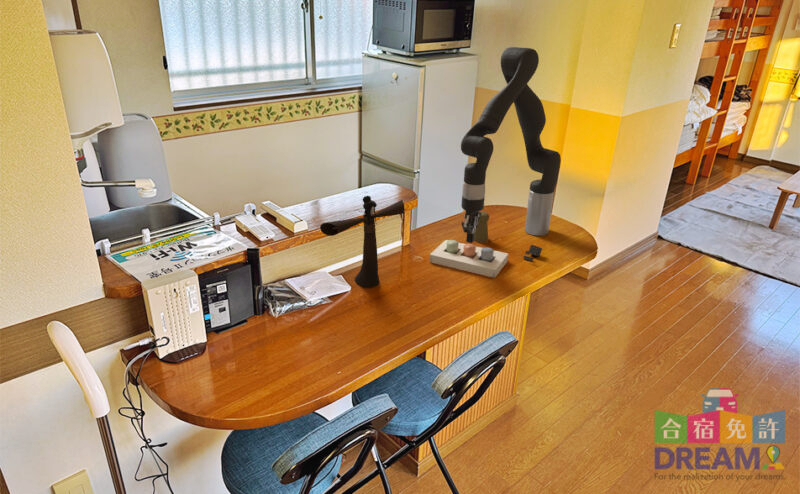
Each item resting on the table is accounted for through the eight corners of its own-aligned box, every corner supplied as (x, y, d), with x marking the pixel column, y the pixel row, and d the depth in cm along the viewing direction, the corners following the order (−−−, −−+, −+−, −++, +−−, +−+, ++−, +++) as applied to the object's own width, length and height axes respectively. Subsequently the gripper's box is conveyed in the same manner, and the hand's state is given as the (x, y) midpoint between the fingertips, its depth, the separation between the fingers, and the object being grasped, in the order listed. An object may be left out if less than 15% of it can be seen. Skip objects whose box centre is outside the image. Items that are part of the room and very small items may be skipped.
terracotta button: (465, 253, 195) (466, 242, 193) (476, 255, 193) (477, 245, 192) (461, 257, 192) (461, 247, 190) (472, 260, 190) (473, 249, 188)
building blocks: (542, 248, 198) (533, 245, 191) (537, 262, 198) (528, 260, 192) (534, 245, 199) (525, 242, 193) (529, 260, 200) (520, 257, 193)
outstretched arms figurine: (334, 303, 167) (330, 211, 154) (317, 290, 174) (312, 202, 161) (411, 272, 186) (413, 188, 173) (393, 262, 192) (394, 180, 179)
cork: (469, 237, 212) (471, 211, 207) (482, 234, 214) (484, 208, 209) (477, 243, 207) (480, 216, 202) (491, 240, 209) (493, 214, 205)
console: (445, 247, 204) (445, 239, 203) (507, 261, 194) (508, 253, 193) (429, 262, 193) (429, 254, 191) (494, 277, 183) (495, 269, 181)
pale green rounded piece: (448, 249, 198) (449, 239, 196) (459, 251, 196) (460, 241, 194) (444, 253, 194) (444, 243, 193) (455, 256, 193) (455, 245, 191)
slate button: (482, 256, 192) (483, 246, 191) (494, 259, 191) (495, 249, 189) (478, 261, 189) (479, 251, 187) (490, 264, 187) (491, 253, 185)
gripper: (470, 187, 189) (466, 233, 197) (455, 199, 179) (452, 246, 186) (490, 191, 186) (486, 237, 194) (477, 203, 176) (473, 251, 183)
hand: (469, 241), depth 190 cm, fingers closed
